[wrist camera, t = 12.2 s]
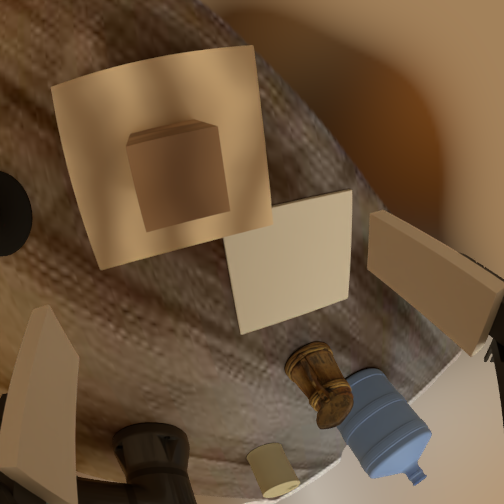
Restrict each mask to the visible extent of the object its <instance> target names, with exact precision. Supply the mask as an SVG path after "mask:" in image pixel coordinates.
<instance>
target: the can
mask: <svg viewBox="0 0 504 504" xmlns="http://www.w3.org/2000/svg"><path fill="white" fill-rule="evenodd" d="M247 460H248V462H249V464H250V466H251V468H252V471H253V473H254V475H255V478H256V480H257V482H258V485H259V487H260V489H261V492H262V494H263V497H265V498H271V497H276V496H280V495H283V494H285V493H287V492H290V491H291V490H293V489H295V488H296V487H297V486H298V485H299V484H300V481H299V479H298V478H297V476H296V474H295V472H294V470H293V468H292V466H291V464H290V463H289V461H288V459H287V457H286V455H285V453H284V450H283V448H282V445H281V444H279V443H270V444H266V445H262V446H260V447H258V448H256V449H254V450H252V451H251V452H250V453H249V454H248V455H247Z"/></svg>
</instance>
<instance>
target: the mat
mask: <svg viewBox="0 0 504 504" xmlns="http://www.w3.org/2000/svg"><path fill="white" fill-rule="evenodd" d="M272 216H273V225H270V226H266V227H262V228H258V229H254V230H250V231H246V232H243V233H239V234H235V235H231V236H227V237H223V243H224V248H225V254H226V260H227V265H228V271H229V277H230V282H231V288H232V293H233V299H234V304H235V309H236V315H237V320H238V325H239V331H240V334H241V335H242V334H245V333H248V332H251V331H255V330H258V329H261V328H264V327H267V326H270V325H273V324H276V323H279V322H282V321H285V320H288V319H291V318H294V317H297V316H300V315H303V314H305V313H308V312H311V311H314V310H317V309H320V308H322V307H325V306H328V305H331V304H333V303H336V302H339V301H341V300H344V299H347V298H348V289H349V274H350V256H351V230H352V190H351V189H347V190H342V191H338V192H333V193H328V194H323V195H319V196H314V197H309V198H305V199H300V200H296V201H291V202H287V203H282V204H278V205H273V206H272Z"/></svg>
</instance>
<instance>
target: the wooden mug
mask: <svg viewBox="0 0 504 504" xmlns="http://www.w3.org/2000/svg"><path fill="white" fill-rule="evenodd" d="M285 372H286V374H287V376H288V377H289V378H290V379H291V380H292V381H293V382H295V383H296V384H297V386H298V387H299V388H300V389H301V390H302V392H303V393H304V394H305V395H306V396H307V397H308V399H309V404H310V405H311V406H312V407H313V408H314V409H315V410H316V411H318V413H317V419H316V422H317V425H318V427H319V428H320V429H329V428H333V427H336V426H338V425H340V424H341V423H342V422H343V421H344V420H345V418H346V417H347V416H348V414H349V413H350V411H351V410H352V407H353V404H354V401H353V394H352V392H351V387H350V385H349V383H348V382H347V381H346V380H345V379H344V377H343V375H342V373H341V371H340V369H339V367H338V365H337V363H336V361H335V359H334V357H333V353H332V351H331V349H330V347H329V346H328V345H327V344H326V343H323V342H313V343H310V344H308V345H305V346H304V347H302V348H300V349H299V350H298V351H296V352H295V353H294V354H293V355H292V356H291V357H290V358H289V360H288V361H287V363H286V366H285Z"/></svg>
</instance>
